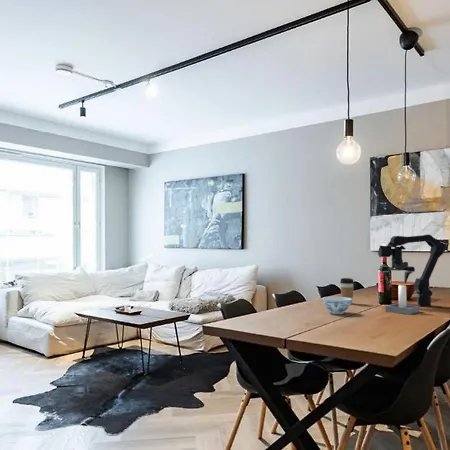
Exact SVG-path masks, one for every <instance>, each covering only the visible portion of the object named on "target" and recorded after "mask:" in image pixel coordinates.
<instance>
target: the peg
mask: <svg viewBox="0 0 450 450" xmlns="http://www.w3.org/2000/svg"><path fill="white" fill-rule="evenodd" d="M397 291H398V292H397V293H398V304H399V307H401V308H407V305H408V304H407V285H406V284H405V285H403V284H400V285H398V290H397Z"/></svg>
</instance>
